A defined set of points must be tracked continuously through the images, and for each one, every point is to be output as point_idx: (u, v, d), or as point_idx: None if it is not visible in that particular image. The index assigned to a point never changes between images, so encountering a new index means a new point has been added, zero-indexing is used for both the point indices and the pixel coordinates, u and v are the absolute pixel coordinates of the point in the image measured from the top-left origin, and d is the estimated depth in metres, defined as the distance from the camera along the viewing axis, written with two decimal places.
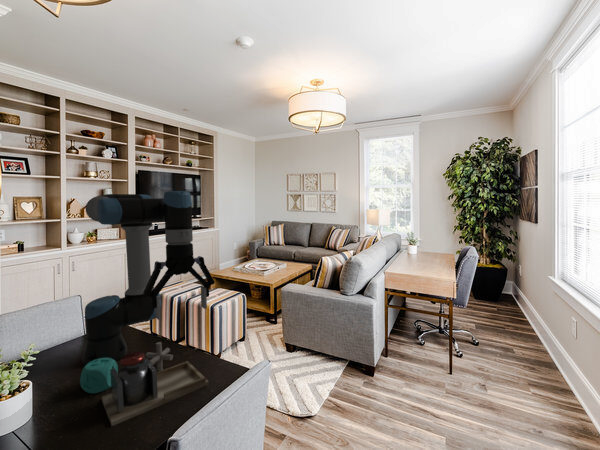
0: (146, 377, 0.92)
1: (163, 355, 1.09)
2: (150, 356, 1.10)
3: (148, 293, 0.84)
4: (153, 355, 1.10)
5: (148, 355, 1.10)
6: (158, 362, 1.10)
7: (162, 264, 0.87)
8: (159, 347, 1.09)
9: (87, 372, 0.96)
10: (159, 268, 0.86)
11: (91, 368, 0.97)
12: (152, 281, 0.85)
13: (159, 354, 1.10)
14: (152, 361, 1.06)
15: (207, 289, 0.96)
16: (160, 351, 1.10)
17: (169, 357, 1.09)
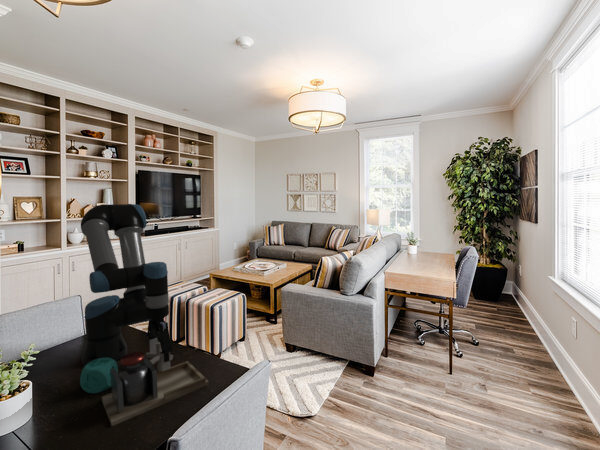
0: (146, 377, 0.92)
1: None
2: (150, 356, 1.10)
3: (147, 334, 1.16)
4: (153, 355, 1.10)
5: (148, 355, 1.10)
6: (158, 362, 1.10)
7: None
8: (159, 347, 1.09)
9: (87, 372, 0.96)
10: (149, 319, 1.13)
11: (91, 368, 0.97)
12: (148, 326, 1.15)
13: (159, 354, 1.10)
14: (152, 361, 1.06)
15: (164, 355, 1.04)
16: (160, 351, 1.10)
17: None
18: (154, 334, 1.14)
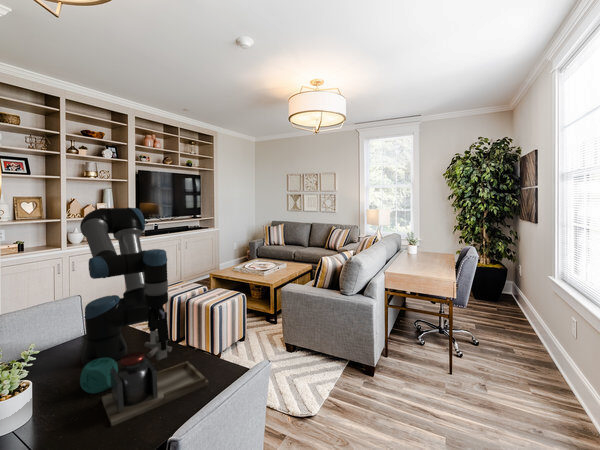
0: (146, 377, 0.92)
1: None
2: (149, 346, 1.10)
3: (148, 325, 1.15)
4: (152, 345, 1.10)
5: (147, 345, 1.10)
6: (157, 352, 1.10)
7: (151, 305, 1.13)
8: (158, 339, 1.09)
9: (87, 372, 0.96)
10: (148, 308, 1.13)
11: (91, 368, 0.97)
12: (148, 317, 1.14)
13: None
14: (151, 353, 1.06)
15: (161, 343, 1.06)
16: None
17: (168, 350, 1.09)
18: (154, 325, 1.13)
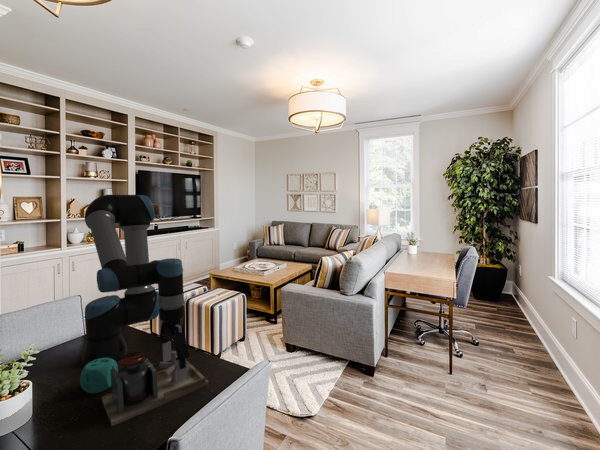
0: (146, 377, 0.92)
1: None
2: (164, 366, 1.01)
3: (160, 337, 1.06)
4: (167, 365, 1.01)
5: (162, 365, 1.01)
6: (173, 372, 1.01)
7: None
8: (174, 356, 1.00)
9: (87, 372, 0.96)
10: (162, 321, 1.03)
11: (91, 368, 0.97)
12: (161, 329, 1.05)
13: (174, 364, 1.00)
14: (168, 372, 0.97)
15: (180, 361, 0.94)
16: (175, 360, 1.01)
17: None
18: (167, 337, 1.04)
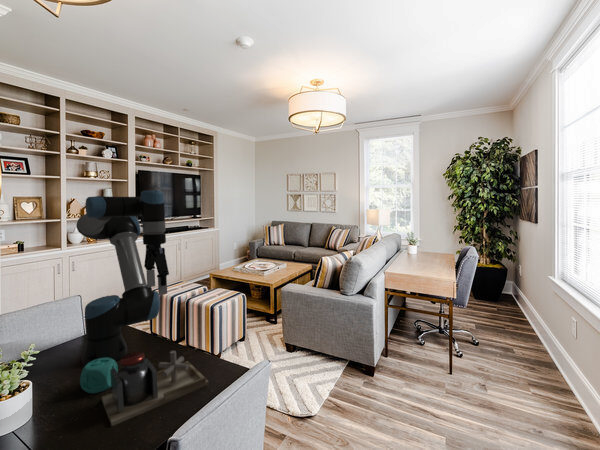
0: (146, 377, 0.92)
1: (178, 365, 1.00)
2: (163, 366, 1.01)
3: (144, 265, 1.17)
4: (167, 365, 1.01)
5: (161, 365, 1.01)
6: (172, 373, 1.01)
7: (149, 247, 1.14)
8: (173, 356, 1.00)
9: (87, 372, 0.96)
10: (146, 249, 1.14)
11: (91, 368, 0.97)
12: (145, 257, 1.16)
13: (173, 364, 1.00)
14: (167, 372, 0.97)
15: (161, 279, 1.05)
16: (174, 360, 1.01)
17: (185, 367, 1.00)
18: (151, 265, 1.15)
